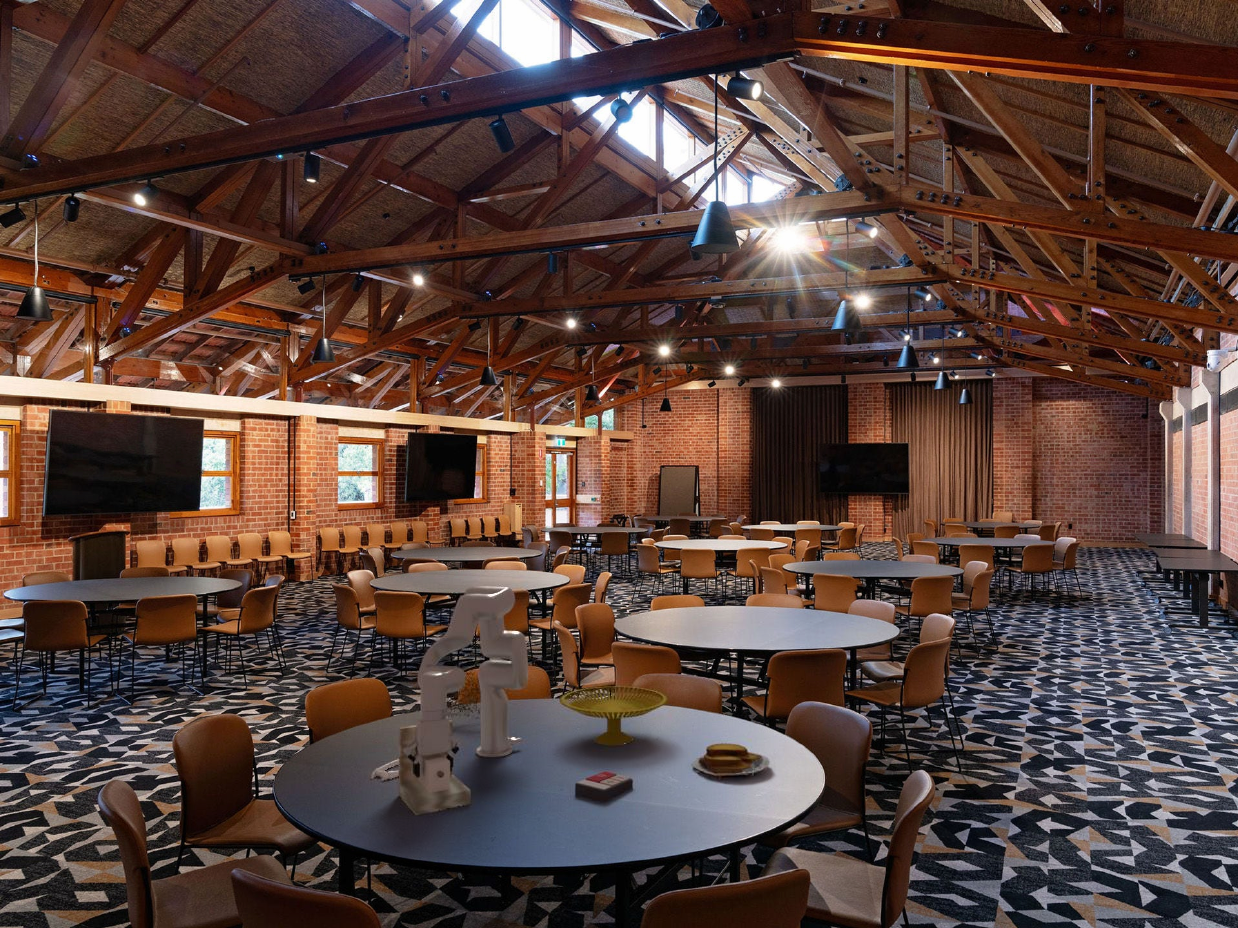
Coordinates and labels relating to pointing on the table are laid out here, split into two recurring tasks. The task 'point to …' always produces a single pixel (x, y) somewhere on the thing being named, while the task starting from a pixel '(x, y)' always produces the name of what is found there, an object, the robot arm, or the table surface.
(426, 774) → the pale taupe block
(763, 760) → the food on plate
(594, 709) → the yellow pedestal fruit bowl
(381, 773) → the door handle
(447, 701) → the dried plant
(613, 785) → the small patterned box
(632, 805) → the table surface
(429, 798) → the beige zigzag bookend
